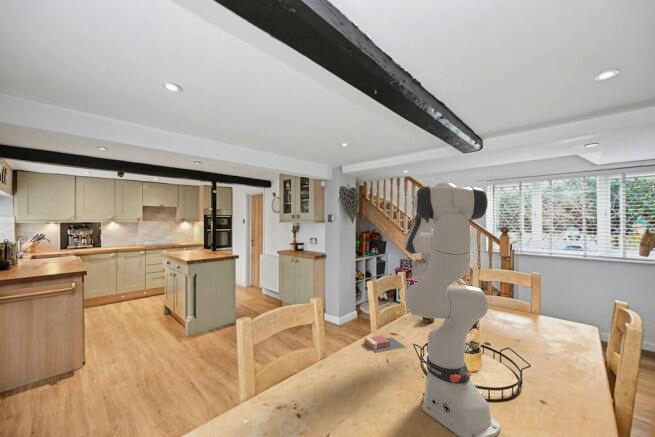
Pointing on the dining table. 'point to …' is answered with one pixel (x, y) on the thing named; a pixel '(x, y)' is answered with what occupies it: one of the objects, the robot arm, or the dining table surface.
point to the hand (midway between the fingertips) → (431, 287)
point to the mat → (393, 345)
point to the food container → (428, 320)
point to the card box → (377, 342)
